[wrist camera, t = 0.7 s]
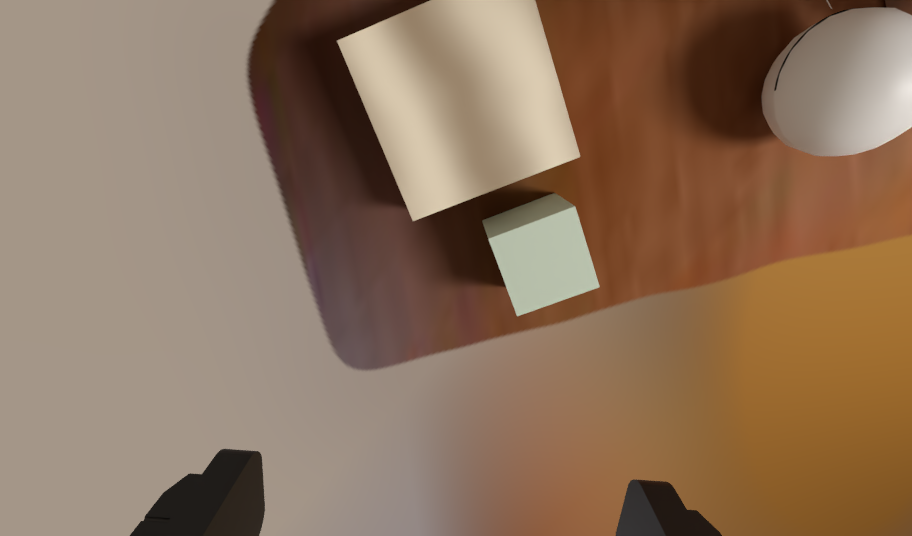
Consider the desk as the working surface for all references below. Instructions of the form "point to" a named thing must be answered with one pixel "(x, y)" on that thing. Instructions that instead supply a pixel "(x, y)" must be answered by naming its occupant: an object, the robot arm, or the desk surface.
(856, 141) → the white rounded oval
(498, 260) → the sage cube
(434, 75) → the birch block
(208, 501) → the robot arm
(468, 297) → the desk surface
